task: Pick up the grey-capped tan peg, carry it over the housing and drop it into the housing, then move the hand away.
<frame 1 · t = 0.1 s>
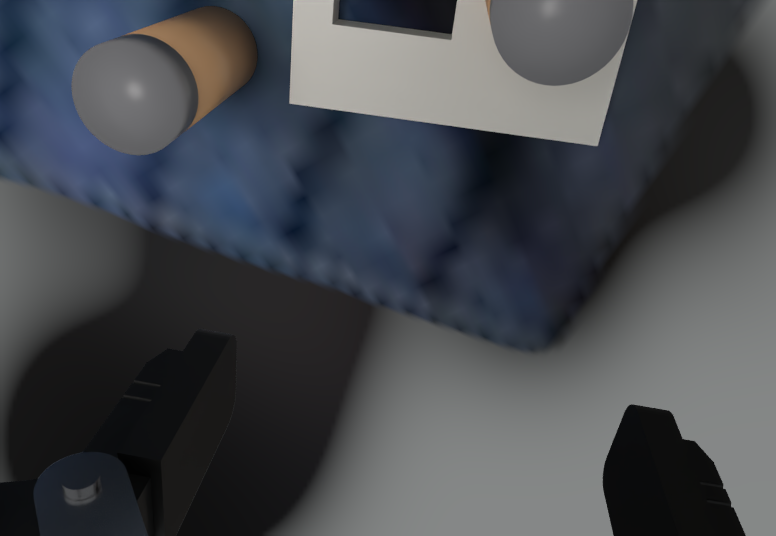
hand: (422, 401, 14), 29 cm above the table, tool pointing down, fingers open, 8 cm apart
grey-capped tan peg: (216, 50, 40), on the table
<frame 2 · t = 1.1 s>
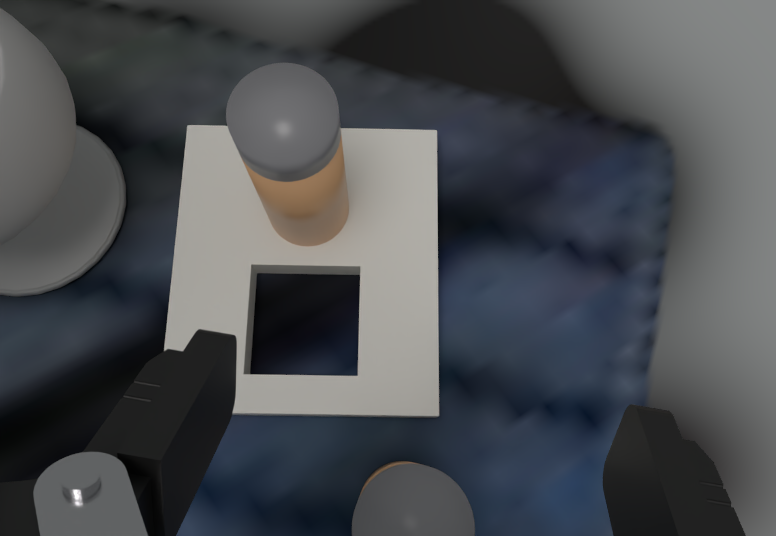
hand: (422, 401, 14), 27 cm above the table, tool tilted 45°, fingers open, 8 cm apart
chalice: (35, 207, 43), on the table
grey-capped tan peg: (402, 505, 38), on the table
housing: (309, 270, 42), on the table
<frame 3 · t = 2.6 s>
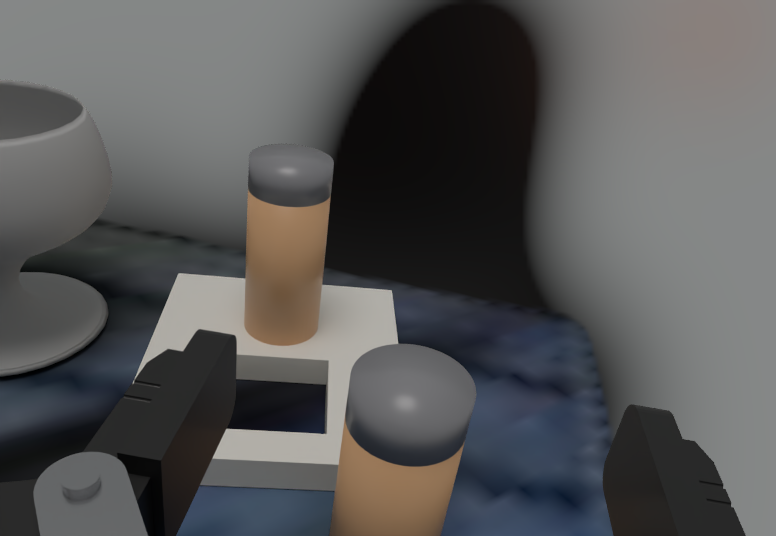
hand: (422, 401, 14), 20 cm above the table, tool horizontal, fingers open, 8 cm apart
chalice: (11, 327, 45), on the table
housing: (275, 379, 43), on the table
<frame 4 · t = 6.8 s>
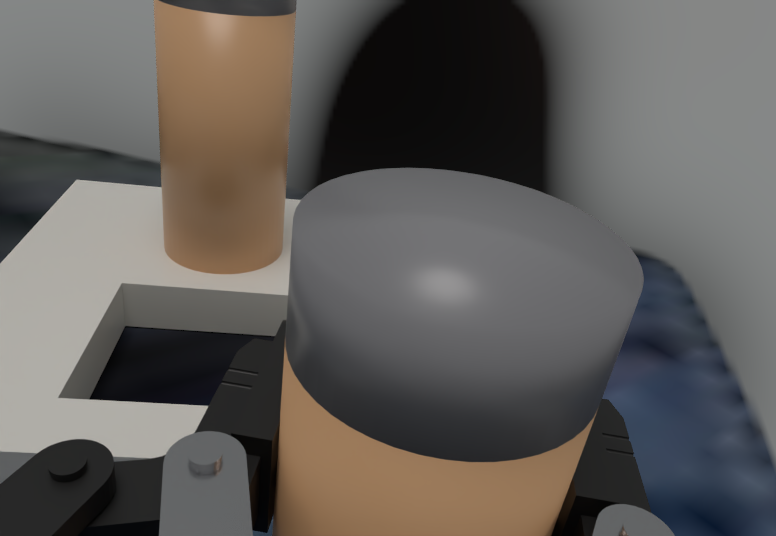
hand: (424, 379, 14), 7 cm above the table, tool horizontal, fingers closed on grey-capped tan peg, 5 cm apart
housing: (211, 328, 27), on the table
when the fingers open (9 cm above the table, at t = 12.5 s): grey-capped tan peg drops 1 cm, resting in housing.
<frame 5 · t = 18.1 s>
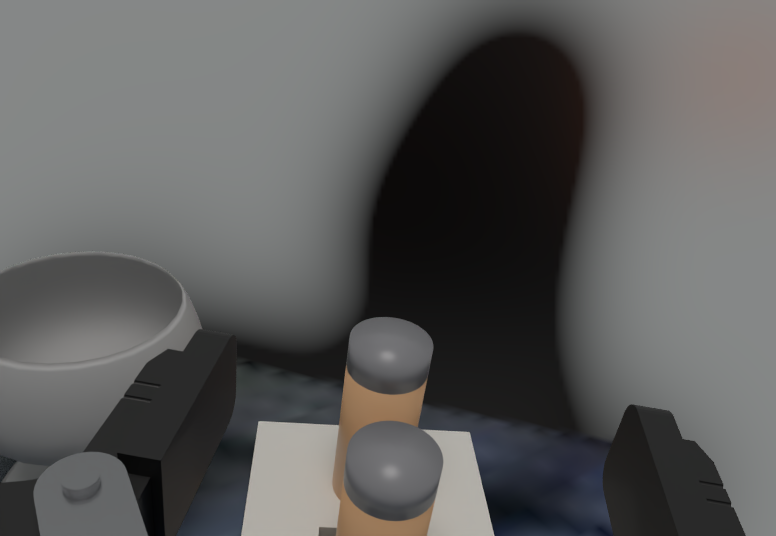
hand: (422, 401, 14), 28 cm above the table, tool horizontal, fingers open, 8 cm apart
chalice: (99, 490, 45), on the table
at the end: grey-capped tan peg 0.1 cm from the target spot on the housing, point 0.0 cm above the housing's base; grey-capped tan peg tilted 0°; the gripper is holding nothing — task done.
